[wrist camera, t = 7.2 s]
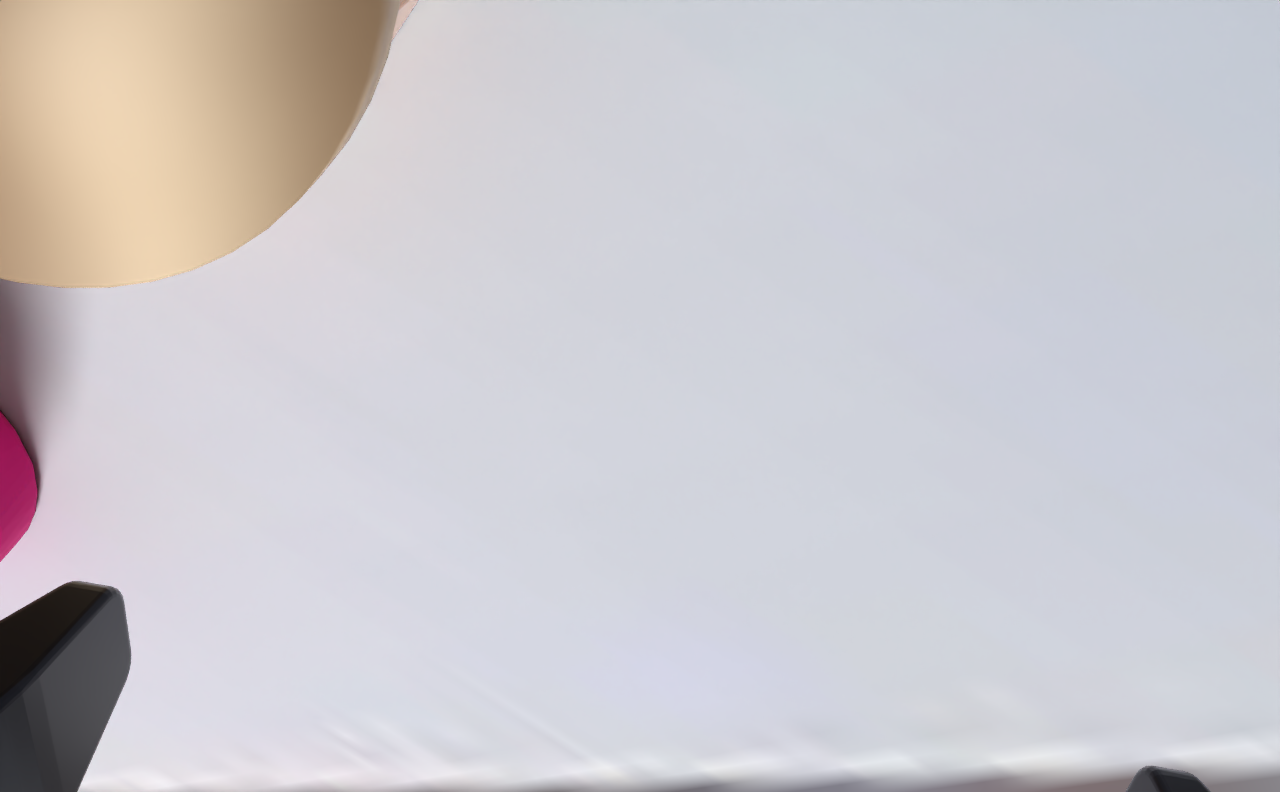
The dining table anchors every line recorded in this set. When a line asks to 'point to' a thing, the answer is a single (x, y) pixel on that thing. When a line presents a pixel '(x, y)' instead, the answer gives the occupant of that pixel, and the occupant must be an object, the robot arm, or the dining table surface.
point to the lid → (169, 126)
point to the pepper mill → (14, 488)
